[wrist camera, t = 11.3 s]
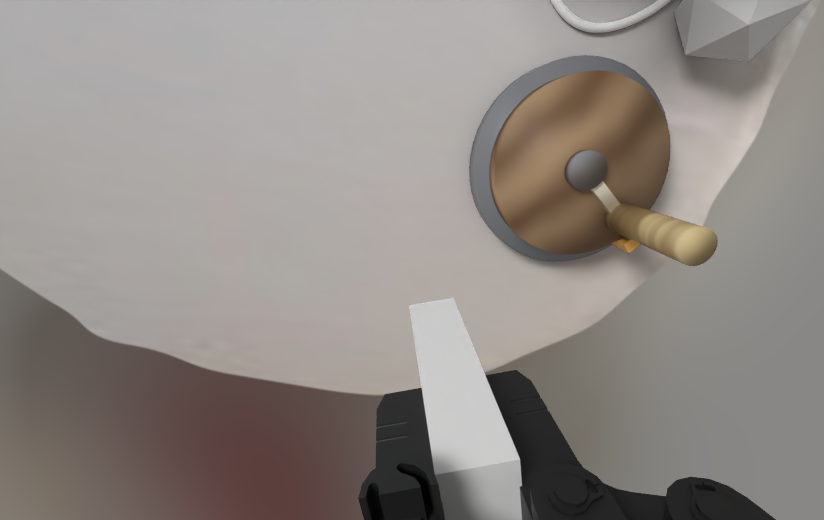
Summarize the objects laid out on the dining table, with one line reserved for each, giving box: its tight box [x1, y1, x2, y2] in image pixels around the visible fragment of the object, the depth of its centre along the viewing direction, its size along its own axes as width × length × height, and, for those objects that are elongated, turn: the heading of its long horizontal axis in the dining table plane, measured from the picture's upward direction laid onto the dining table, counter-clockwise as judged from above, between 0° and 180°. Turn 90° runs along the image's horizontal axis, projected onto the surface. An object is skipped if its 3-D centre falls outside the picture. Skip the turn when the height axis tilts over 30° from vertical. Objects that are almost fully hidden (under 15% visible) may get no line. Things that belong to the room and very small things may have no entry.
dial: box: [489, 70, 717, 266], centre depth 32 cm, size 17×17×12 cm
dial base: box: [469, 56, 668, 261], centre depth 38 cm, size 20×20×5 cm
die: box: [674, 0, 812, 62], centre depth 33 cm, size 8×9×10 cm
